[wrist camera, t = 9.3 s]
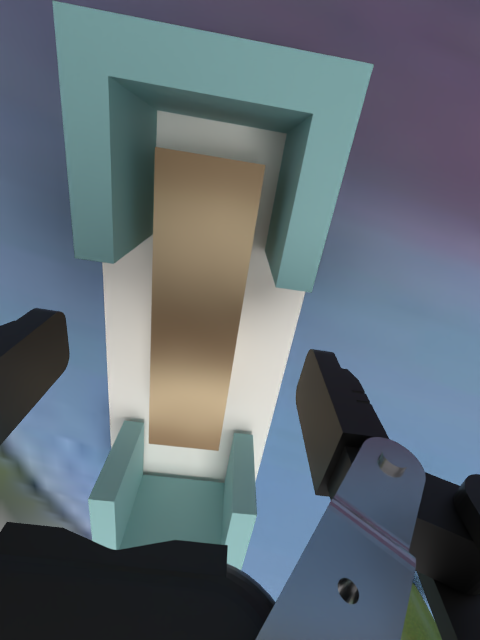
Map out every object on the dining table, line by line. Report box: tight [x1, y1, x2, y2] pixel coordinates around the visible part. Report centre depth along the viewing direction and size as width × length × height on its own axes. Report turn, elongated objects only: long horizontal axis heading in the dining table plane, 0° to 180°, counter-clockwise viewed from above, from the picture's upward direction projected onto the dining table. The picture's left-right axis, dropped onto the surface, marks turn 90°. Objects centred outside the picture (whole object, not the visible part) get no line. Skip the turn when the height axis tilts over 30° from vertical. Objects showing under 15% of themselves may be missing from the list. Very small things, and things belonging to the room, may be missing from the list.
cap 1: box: [52, 1, 374, 293], centre depth 11 cm, size 6×8×5 cm
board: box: [102, 110, 305, 483], centre depth 18 cm, size 29×10×1 cm, turn 171°
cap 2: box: [88, 421, 257, 570], centre depth 18 cm, size 6×8×5 cm
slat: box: [149, 147, 265, 451], centre depth 14 cm, size 13×4×4 cm, turn 172°
